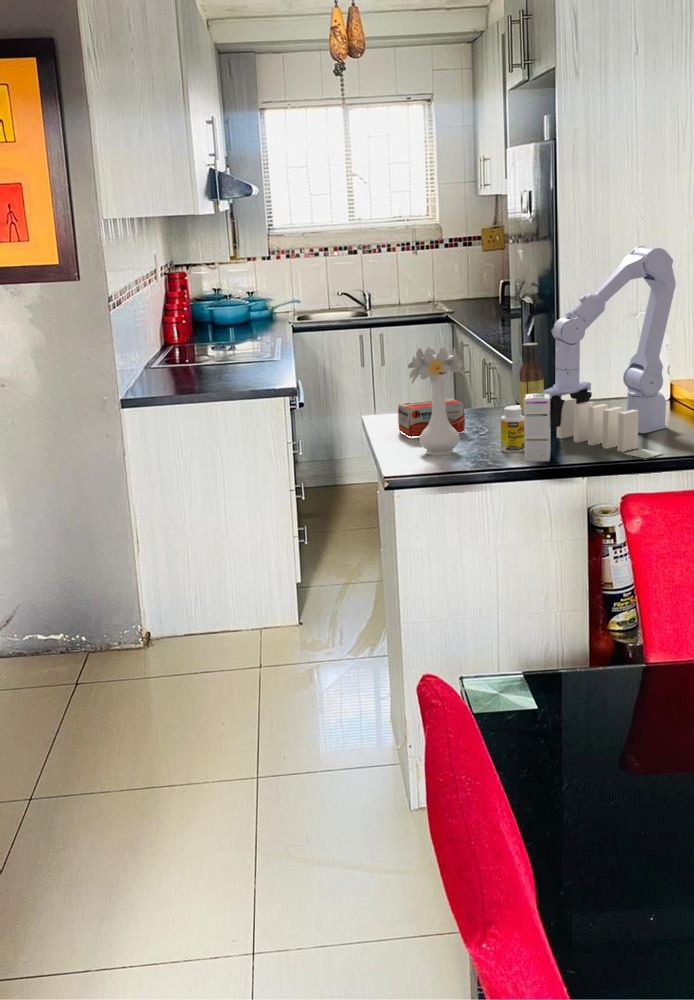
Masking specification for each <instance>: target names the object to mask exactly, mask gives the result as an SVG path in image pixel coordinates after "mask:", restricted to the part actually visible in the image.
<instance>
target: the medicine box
mask: <svg viewBox="0 0 694 1000" xmlns="http://www.w3.org/2000/svg"><path fill="white" fill-rule="evenodd" d="M464 404H465V403H464V402H462V401H460V400H456V399H455V398H452V397H448V398H445V405H446V414H447V418H448V420H449V422H450V424H451V426H452V427H453V428H454V429H455V430H456V431H457V432H462V431H464V432H465V425H466V423H465V421H466V420H465V419H466V418H465V417H466V415H465V405H464ZM397 408H398V409H397V419H398V420H397V421H398V422H397V423H398V430H400V431H402V432H403V433H405V434H406V435H408V436H411V437H412V436H420V435H421V433H422V431H423V430H424V429H425V428H426V427H427V426H428V424H429V422H430V419H431V415H432V399H430V400H420V401H412V402H401V403H398V405H397ZM400 431H399V432H400Z"/></svg>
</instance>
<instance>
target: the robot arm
mask: <svg viewBox="0 0 694 1000" xmlns="http://www.w3.org/2000/svg"><path fill="white" fill-rule="evenodd" d="M673 263H674V259H673V258H672V256H671V255H670V254H669V252H667V250H665V249H664V248H660V247H649V246H644V245H640V246H637V247H635V248H633V249H632V251H631V252H630V253H629V254H627V255H626V256H624V257H623V260H622V261H621V263H620V264H619V266H617V268H616V269H615V270H614V271H613V272H612V273H611V274H610V276H609V277H608V278H607V279H606V280H605V281H604V282H603V283H602V284H601V286H600V287H599V288H598V289H597V290H596V291H595V293H587V294H585V295H581V296H580V297H579V298H578V303H577V304H576V305H575V306H574V307H573V308H572V309H571V310H569V311H567V312H566V313H565V317H561V318H558V319H557V320H556V321H555V322H554V324H553V327H552V329H551V334H552V336H553V338H554V340H555V364H554V365H555V369H554V370H555V376H554V377H555V384H553V385H552V387H550V388H547V389H544V390H543V394H550V416H551V426H552V427H556V428H557V427H559V426H560V423H561V412H562V407H563V404H564V401H565V400H566V399H563V398H562V399H561V398H560V397H561V396H566V395H569V396H570V398H573V399H576V404H579V403H584V402H588V401H589V402H590V399H591V398H592V396H593V395H592V393H593V392H591V391H592V382H590V381H581V382H580V376H581V375H580V367H581V366H580V364H581V363H580V360H581V357H580V356H581V354H580V353H581V341H582V340H584V337H585V333H586V331H587V329H588V328H589V327H591V325H592V324H593V323H594V322H595V321H596V320H597V319H598V318H599V317H600V316H601V315H602V314H603V313H604V312H605V310H606V303H607V302H608V301H609V300H610V299H611V298H613V296H614V295H615V294H616V293H618V292H619V291H620V290H621V289H622V288H623V287H625V285H626V284H628V283H629V282H630V281H632V280H635V279H642V278H643V280H644V281H645V282H646V283H647V285H648V287H650V292H649V297H648V301H647V305H646V310H645V314H644V319H643V324H642V327H641V332H640V337H639V341H638V345H637V350H636V353H635V354H634V355H633V356H631V358H630V360H629V364H628V366H627V368H626V369H625V371H624V373H623V377H622V379H623V384H624V386H625V387H627V391H626V392H627V393H626V397H627V398H626V411H629V410H639V415H638V434H648V433H653V432H655V431H660V430H663V429H664V430H665V429H667V428H669V425H667V424H666V417H667V416H666V415H667V414H666V413H667V412H666V410H667V401H666V398H665V396H664V394H663V393H661V392H660V391H661V389H662V387H663V385H664V378H663V370H664V369H663V368H664V366H663V363H662V360H661V358H660V356H661V355H660V354H661V350H662V346H663V341H664V338H665V333H666V329H667V325H668V321H669V315H670V311H671V307H672V302H673V299H674V295H675V289H676V283H677V282H676V277H675V273H674V269H673Z"/></svg>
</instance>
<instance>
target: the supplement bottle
mask: <svg viewBox="0 0 694 1000" xmlns="http://www.w3.org/2000/svg"><path fill="white" fill-rule="evenodd" d="M503 411H504V413H503V414H504V415H502V416H501V417H500V450H501V452H503V453H507V454H510V453H511V454H519V453H522V452H523V451H525V448H524V447H525V446H524V416H522V415H521V414H522V409H521V407H520V406H511V405H510V406H506V407H504V410H503Z"/></svg>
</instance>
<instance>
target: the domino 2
mask: <svg viewBox="0 0 694 1000" xmlns="http://www.w3.org/2000/svg"><path fill="white" fill-rule="evenodd" d="M592 406H595V403H594V401H590V400H589V401H588V402H584V403H579V404H575V405H574V436H573V442H575V443H583V442H586V441H588V411H589V407H592Z"/></svg>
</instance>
